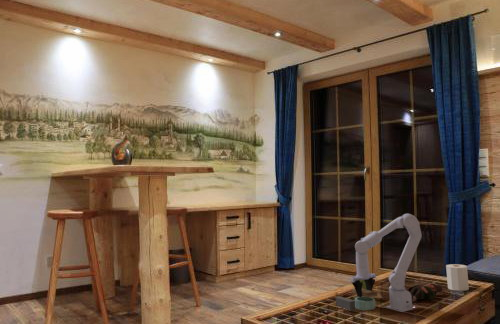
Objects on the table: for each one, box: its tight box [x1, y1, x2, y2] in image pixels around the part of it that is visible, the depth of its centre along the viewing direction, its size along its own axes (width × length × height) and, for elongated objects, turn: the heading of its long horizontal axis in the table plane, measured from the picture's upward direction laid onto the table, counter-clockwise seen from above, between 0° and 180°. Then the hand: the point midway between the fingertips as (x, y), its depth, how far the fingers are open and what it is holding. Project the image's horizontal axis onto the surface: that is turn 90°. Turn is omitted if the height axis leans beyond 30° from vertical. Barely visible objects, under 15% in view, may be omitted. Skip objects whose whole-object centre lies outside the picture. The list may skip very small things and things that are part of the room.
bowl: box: [354, 296, 376, 311], centre depth 194 cm, size 9×9×4 cm
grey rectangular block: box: [335, 296, 356, 312], centre depth 193 cm, size 10×3×4 cm, turn 28°
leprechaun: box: [407, 282, 443, 303], centre depth 205 cm, size 11×10×25 cm
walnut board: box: [351, 288, 378, 298], centre depth 194 cm, size 11×6×2 cm, turn 29°
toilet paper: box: [445, 263, 470, 292], centre depth 220 cm, size 10×10×12 cm
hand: (364, 295), depth 194 cm, fingers closed on walnut board, 5 cm apart
